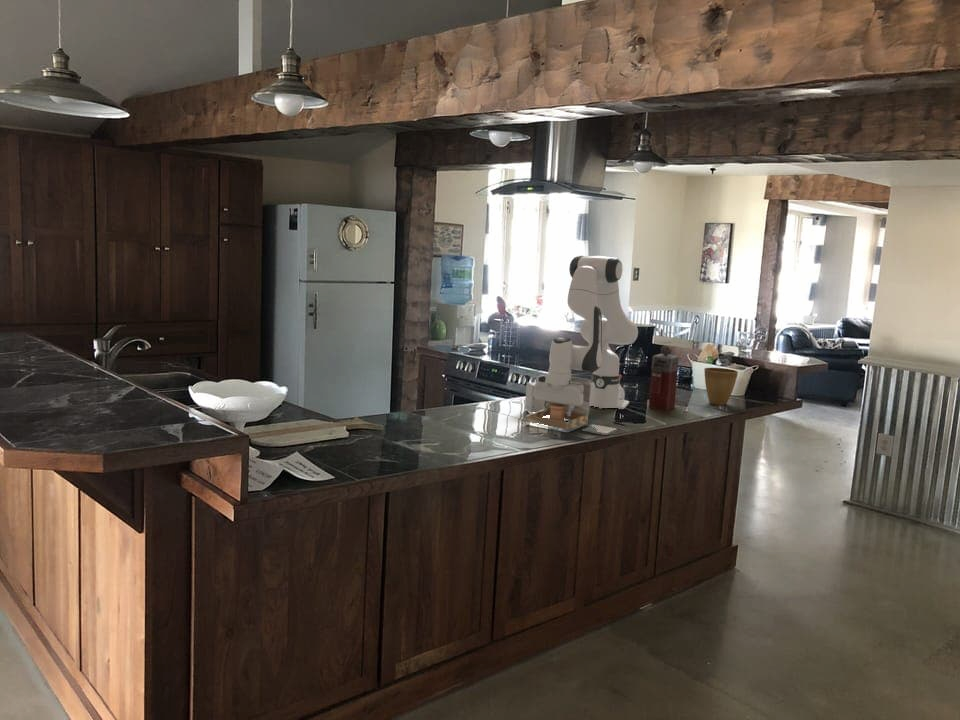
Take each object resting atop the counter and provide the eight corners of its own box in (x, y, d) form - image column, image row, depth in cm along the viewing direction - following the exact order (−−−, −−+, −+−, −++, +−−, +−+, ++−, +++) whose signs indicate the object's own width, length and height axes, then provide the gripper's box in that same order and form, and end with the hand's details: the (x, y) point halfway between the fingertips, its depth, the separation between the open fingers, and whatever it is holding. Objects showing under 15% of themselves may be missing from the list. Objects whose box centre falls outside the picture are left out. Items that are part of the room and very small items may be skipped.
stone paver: (592, 426, 304) (592, 424, 304) (616, 431, 299) (616, 428, 299) (581, 431, 295) (581, 429, 295) (606, 435, 290) (606, 433, 290)
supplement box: (530, 415, 319) (532, 385, 317) (524, 411, 326) (526, 381, 324) (547, 415, 321) (549, 385, 319) (541, 411, 328) (542, 381, 326)
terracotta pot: (553, 422, 308) (554, 402, 307) (567, 425, 305) (568, 405, 304) (546, 425, 303) (547, 405, 302) (560, 427, 300) (561, 407, 299)
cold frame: (547, 417, 317) (550, 373, 314) (588, 424, 308) (591, 379, 305) (525, 425, 301) (528, 379, 298) (567, 433, 292) (570, 386, 289)
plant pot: (739, 407, 353) (742, 373, 350) (706, 406, 353) (709, 371, 350) (729, 401, 367) (732, 367, 365) (697, 399, 368) (700, 366, 365)
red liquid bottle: (646, 408, 343) (651, 345, 339) (655, 404, 353) (660, 343, 348) (665, 411, 339) (670, 347, 334) (674, 407, 348) (679, 345, 344)
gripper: (587, 381, 298) (584, 416, 300) (540, 374, 309) (537, 408, 311) (580, 383, 293) (578, 419, 295) (532, 376, 304) (530, 411, 306)
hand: (557, 414), depth 303 cm, fingers open, 8 cm apart
